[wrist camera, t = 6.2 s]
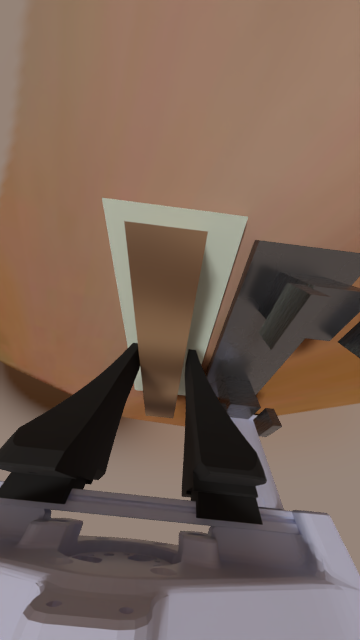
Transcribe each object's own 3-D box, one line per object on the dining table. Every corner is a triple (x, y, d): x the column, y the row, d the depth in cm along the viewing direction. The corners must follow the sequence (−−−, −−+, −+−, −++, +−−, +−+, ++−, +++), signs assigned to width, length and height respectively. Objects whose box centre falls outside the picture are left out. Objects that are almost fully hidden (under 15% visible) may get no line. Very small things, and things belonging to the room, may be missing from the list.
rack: (248, 396, 18) (266, 442, 14) (199, 390, 18) (202, 435, 14) (365, 254, 8) (540, 274, 4) (255, 240, 8) (322, 246, 4)
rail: (175, 390, 18) (173, 418, 15) (152, 387, 18) (145, 415, 15) (201, 232, 8) (208, 231, 5) (147, 225, 8) (124, 221, 5)
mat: (191, 393, 19) (191, 396, 18) (136, 387, 18) (135, 389, 18) (245, 217, 7) (248, 216, 7) (105, 199, 7) (101, 197, 7)
